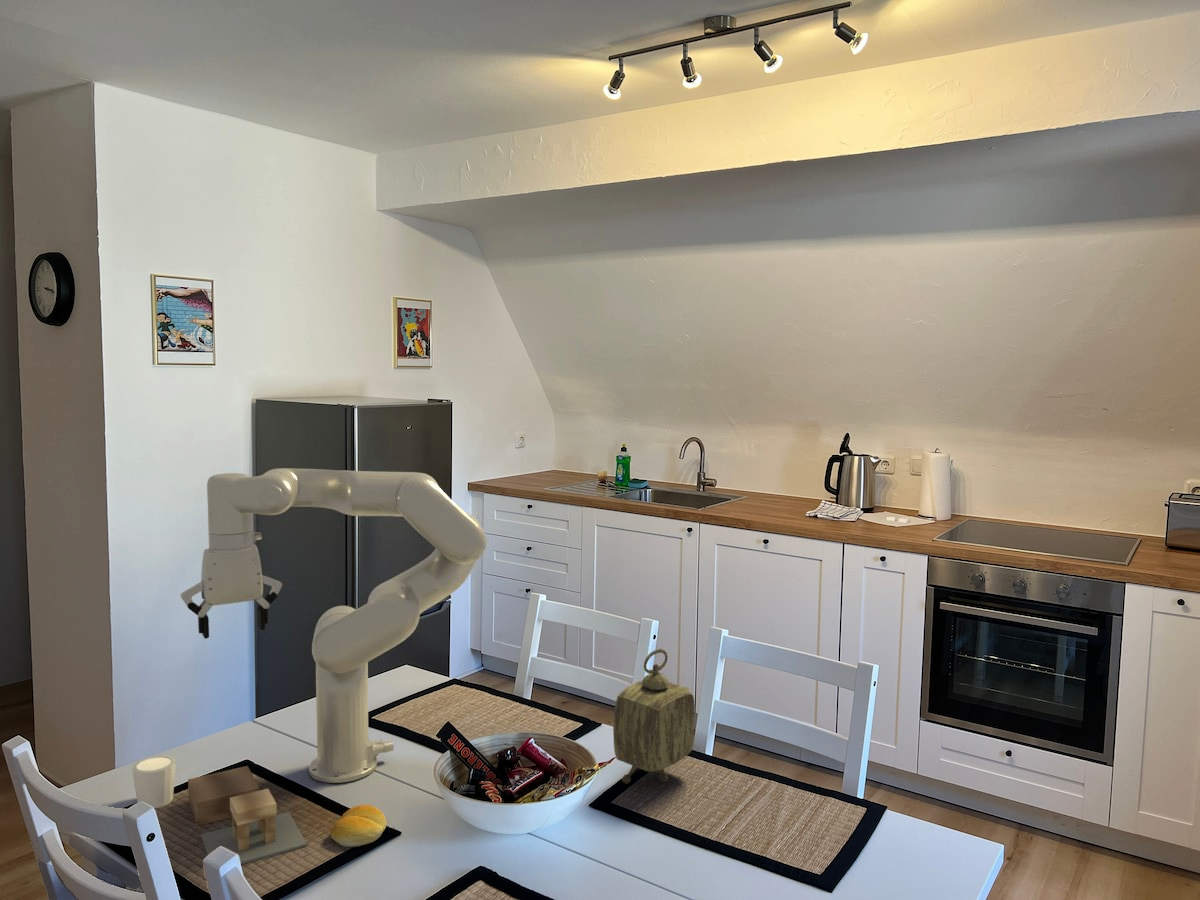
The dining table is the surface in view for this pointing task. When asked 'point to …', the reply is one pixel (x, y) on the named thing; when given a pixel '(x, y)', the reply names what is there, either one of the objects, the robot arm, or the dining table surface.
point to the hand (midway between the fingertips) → (233, 632)
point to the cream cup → (155, 780)
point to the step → (218, 793)
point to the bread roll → (359, 826)
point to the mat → (258, 839)
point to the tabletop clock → (653, 723)
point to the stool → (253, 816)
